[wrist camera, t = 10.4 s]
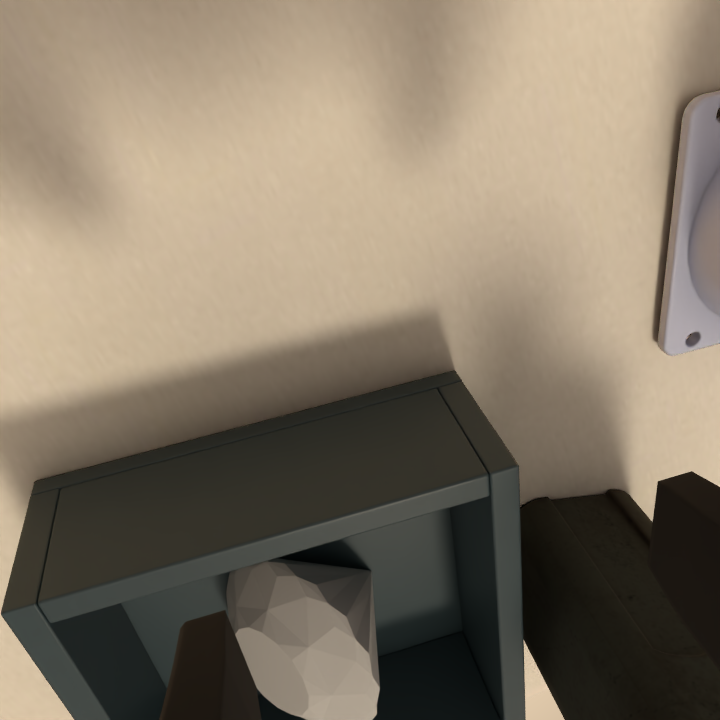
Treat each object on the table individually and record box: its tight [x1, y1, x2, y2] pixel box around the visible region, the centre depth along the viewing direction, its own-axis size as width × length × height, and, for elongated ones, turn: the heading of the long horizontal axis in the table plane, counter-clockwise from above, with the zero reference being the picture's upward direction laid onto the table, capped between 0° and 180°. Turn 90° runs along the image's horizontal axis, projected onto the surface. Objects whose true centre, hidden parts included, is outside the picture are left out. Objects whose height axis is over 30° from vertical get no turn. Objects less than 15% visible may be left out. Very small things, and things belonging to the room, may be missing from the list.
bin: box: [1, 371, 525, 720], centre depth 21 cm, size 13×13×5 cm
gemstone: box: [226, 558, 380, 720], centre depth 22 cm, size 6×6×5 cm
